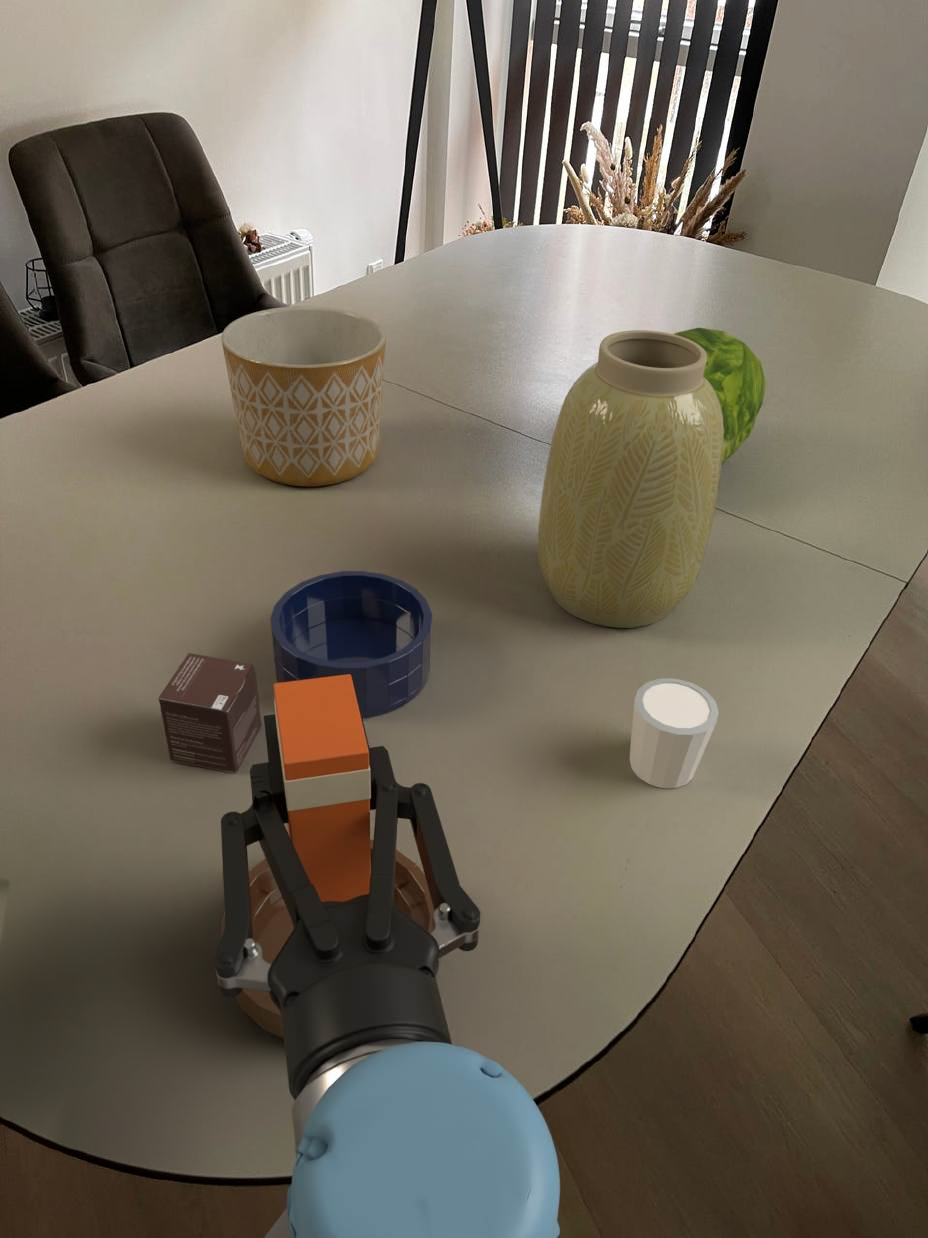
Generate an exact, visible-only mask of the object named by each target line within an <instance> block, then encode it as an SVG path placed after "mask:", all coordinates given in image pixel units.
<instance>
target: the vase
mask: <svg viewBox="0 0 928 1238" xmlns="http://www.w3.org/2000/svg"><path fill="white" fill-rule="evenodd" d="M674 334H675V333H669V332H663V331H658V330H657V331H656V330H647V329H639V330H638V329H634V330H624V331H622V330H621V331H618V332H614V333H611V334H609V335H607V336H605V337H604V338H603V339H601V341H600V344H599V347H598V359H597V362H595V363H594V364H592V365H591V366H589V367H588V368H587V369H586V370H585V371H583V372H582V373H581V374H580V375H579V376H578V378H577V379H576V380H575V382H574V383H573V385H572V386H571V387H570V388H569V390H568V392H567V393H566V395H565V397H564V400H563V402H562V405H561V407H560V411H559V414H558V417H557V421H556V424H555V427H554V430H553V434H552V435H553V436H552V439H551V443H550V447H549V450H548V451H549V452H548V456H547V462H546V467H545V473H544V478H543V485H542V490H541V491H542V492H541V499H540V506H539V516H538V528H537V560H538V565H539V568H540V571H541V574H542V575H541V576H542V577H543V580H544V582H545V584H546V586H547V588H548V590H549V592H550V594H551V596H552V598H553V599H554V601H555V602H556V603H557V604H558V606H560V607H561V608H562V609H563V610H565V611H566V612H567V613H569V614H571V615H572V616H574V617H576V618H578V619H580V620H583V621H585V622H587V623H591V624H594V625H598V626H603V627H607V628H616V629H619V628H620V629H629V628H630V629H631V628H632V629H633V628H639V627H644V626H649V625H652V624H654V623H656V622H659V621H661V620H662V619H664V618H665V617H667V616H668V615H669V614H670V613H672V612H673V610H674V609H675V608H676V607H677V606H678V605H680V603H681V602H682V601H684V600H685V598H686V597H687V596H688V594H689V593H690V592H691V590H692V588H693V587H694V585H695V584H696V582H697V579H698V577H699V574H700V570H701V567H702V565H703V561H704V557H705V555H706V554H705V553H706V550H707V547H708V543H709V539H710V535H711V532H712V531H711V530H712V526H713V522H714V517H715V512H716V511H715V510H716V507H717V506H716V505H717V500H718V495H719V488H720V481H721V474H722V466H723V465H722V457H723V437H724V429H723V414H722V409H721V406H720V402H719V400H718V397H717V395H716V393H715V390H714V389H713V387H712V385H711V384H710V383H709V381H708V380H707V379H706V378H705V377H704V376H703V374H704V370H705V366H706V362H707V354H706V352H705V350H704V349H703V348H702V347H701V346H700V345H698V344H697V343H695V342H693V341H691V340H689V339H686V338H684V337H681V336H677V335H674Z"/></svg>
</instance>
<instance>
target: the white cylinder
mask: <svg viewBox="0 0 928 1238" xmlns="http://www.w3.org/2000/svg"><path fill="white" fill-rule="evenodd" d="M719 713H720V711H719V707H718V704H717V702H716V700H715V699H714V698H713V697H712V696H711V694H710V693H709V692H708V691H707V690H705V689H704V688H702V687H700V686H698V685H697V684H695V683H693V682H690V681H687V680H683V679H679V678H665V677H664V678H663V677H662V678H658V679H654V680H649V681H647V682H645V683H644V684H642V685H641V686H640V688H638V689H637V691H636V695H635V697H634V701H633V712H632V725H631V736H630V747H629V750H630V751H629V763H630V768H631V770H632V771H633V772H634V774H635V775H636V776H637V778H638V779H640V780H642V781H643V782H645V783H646V784H647V785H650V786H654V787H657V788H660V789H678V788H681V787H684V786H686V785H687V784H688V783H689V782H691V780H692V779H694V776H695V774H696V772H697V769H698V767H699V765H700V763H701V760H702V757H703V755H704V752H705V751H706V748H707V745H708V744H709V741H710V738H711V736H712V734H713V732H714V729H715V726H716V724H717V721H718V719H719Z"/></svg>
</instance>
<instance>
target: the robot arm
mask: <svg viewBox="0 0 928 1238" xmlns="http://www.w3.org/2000/svg"><path fill="white" fill-rule="evenodd" d="M358 707H359V711H360V716H361V720H362V724H363V729H364V733H365V737H366V742H367V746H368V750H369V766H370V780H371V799H370V811H374V810H375V813H374V814H375V815H374V828H373V829H374V830H373V838H372V840H373V853H372V866H371V874H370V885H369V894H366V895H361V896H358V897H355V898H353V899H350V900H348V901H345V902H339V901H326V902H321V900H320V898H319V895H318V893H317V891H316V889H315V887H314V885H313V884H311V883H310V880H309V878H308V876H307V874H306V872H305V869H304V867H303V865H302V863H301V861H300V858H299V856H298V854H297V852H296V850H295V847H294V845H293V843H292V841H291V839H290V836H289V834H288V831H287V826H286V825H285V824H287V823H289V822H288V812H287V803H286V795H285V788H284V780H283V772H282V765H281V757H280V750H279V742H278V734H277V726H276V716H275V713H273V714H266V715H263V725H264V733H265V742H266V752H267V760H268V761H267V762H260V763H253V764H251V766H250V770H249V777H250V788H251V801H252V802H251V806H250V807H249V808H248V809H247V810H245V811H243V812H241V813H240V812H239V811H229V812H226V813H225V814H223V815H222V817H221V818H220V836H221V857H222V859H221V860H222V879H223V881H222V882H223V900H224V901H223V903H224V905H223V906H224V915H225V930H224V933H223V935H222V938H221V937H220V941H219V944H218V947H217V949H216V952H215V955H214V958H213V964H214V965H213V966H214V969H215V975H216V979H217V985H218V990H219V993H220V994H221V995H222V996H223V997H224V998H235V996H237V995H238V994H240V993H241V991H242V990H243V989H251V990H258V991H265V992H269V995H270V998H271V1000H272V1001H273V1003H274V1004H275V1005H276V1006H277V1007H278V1009H279V1010H280V1012H281V1015H282V1024H283V1034H284V1038H283V1041H284V1052H285V1062H286V1071H287V1081H288V1090H289V1093H290V1095H291V1097H292V1099H293V1100H294V1102H293V1105H292V1109H291V1118H292V1119H291V1120H292V1126H293V1127H292V1128H293V1137H294V1149H295V1157H296V1158H295V1159H296V1160H295V1163H294V1164H293V1167H292V1176H291V1184H290V1185H289V1187H288V1188H287V1194H286V1207H285V1209H284V1211H283V1212H282V1213H281V1215H280V1216H279V1217H278V1219H277V1220H276V1221H275V1223H274V1224H273V1225H272V1227H270V1229H269V1230H268V1232H267V1233H266V1235H264V1237H263V1238H558V1237H559V1236H560V1233H561V1229H560V1225H559V1222H558V1216H559V1207H560V1197H561V1195H560V1194H561V1178H560V1168H559V1160H558V1155H557V1152H556V1147H555V1145H554V1144H555V1143H554V1141H553V1138H552V1134H551V1131H550V1129H549V1127H548V1124H547V1122H546V1120H545V1118H544V1116H543V1114H542V1112H541V1110H540V1109H539V1107H538V1106H537V1104H536V1102H535V1101H534V1099H533V1098H532V1096H531V1095H530V1093H529V1092H528V1091H527V1090H526V1088H525V1087H523V1085H522V1083H520V1082H519V1081H518V1080H517V1079H516V1078H515V1077H514V1076H513V1075H512V1074H511V1073H510V1072H509V1071H507V1070H506V1069H505V1068H504V1067H503V1066H502V1065H500V1064H499V1063H498V1062H496V1061H494V1060H492V1059H490V1058H489V1057H486V1056H484V1055H483V1054H480V1053H479V1052H477V1051H474V1050H472V1049H469V1048H468V1047H467V1048H466V1047H463V1046H459V1045H455V1044H453V1043H452V1039H451V1034H450V1030H449V1025H448V1022H447V1018H446V1014H445V1009H444V1005H443V1001H442V996H441V994H440V990H439V986H438V981H437V974H438V971H439V967H440V959H441V958H443V957H444V956H446V955H447V954H450V953H451V952H453V951H454V950H457V949H459V950H460V951H462V952H471V951H474V950H475V949H476V948H477V946H478V943H479V937H480V936H479V934H480V925H481V917H482V916H481V915H482V914H481V911H480V909H479V907H478V906H477V904H476V903H475V902H474V901H473V899H472V898H471V897H470V896H469V895H468V893H467V892H466V890H465V889H464V888H463V887H462V886H461V884H460V880H459V877H458V874H457V871H456V867H455V863H454V861H453V857H452V854H451V851H450V847H449V845H448V841H447V838H446V835H445V831H444V828H443V825H442V821H441V818H440V814H439V812H438V808H437V806H436V802H435V798H434V796H433V792H432V789H431V787H430V786H429V785H428V784H427V783H424V782H417V783H414V784H413V785H412V786H410V787H408V786H403V785H401V784H400V783H398V782H397V780H396V777H395V774H394V770H393V766H392V762H391V759H390V754H389V751H388V750H387V748H386V747H385V746H384V745H379V746H378V745H377V746H373V747H370V745H369V740H368V737H367V736H368V735H367V732H366V727H365V724H364V718H362V714H361V710H360V706H359V703H358ZM399 819H401V820H402V819H403V820H409V822H410V825H411V830H412V833H413V834H412V835H413V837H414V840H415V844H416V848H417V852H418V856H419V859H420V863H421V866H422V870H423V874H424V875H425V877H426V881H427V885H428V888H429V892H430V896H431V899H432V903H433V907H434V910H435V911H434V913H433V924H432V928H433V931H432V932H431V933H429V932H428V931H426V930H425V929H424V928H423V927H421V926H420V925H419V924H417V923H416V922H415V921H414V920H412V919H411V918H410V917H409V916H407V915H406V914H405V913H403V912H402V911H401V910H400V909H398V908H397V907H396V906H395V905H393V902H394V882H395V862H396V850H397V842H398V841H397V839H398V823H399ZM257 842H258V843H259V845H260V848H261V850H262V853H263V855H264V857H265V859H266V860H267V862H268V865H269V867H270V869H271V872H272V874H273V876H274V879H275V881H276V884H277V886H278V888H279V891H280V893H281V895H282V898H283V900H284V903H285V905H286V907H287V910H288V912H289V915H290V917H291V919H292V922H293V926H294V929H293V931H292V932H291V934H290V936H289V937H288V939H287V940H286V942H285V943H284V945H283V947H282V948H281V950H280V951H279V953H278V954H277V956H276V958H275V959H274V961H273V962H272V963H268V962H267V961H265V959H264V955H263V949H262V946H261V945H260V944H259V943H258V942H255V940H254V939H253V927H252V912H251V898H250V884H249V871H250V869H249V858H248V857H249V856H248V846H250V845H253V844H255V843H257Z"/></svg>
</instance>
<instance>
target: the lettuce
mask: <svg viewBox="0 0 928 1238" xmlns="http://www.w3.org/2000/svg"><path fill="white" fill-rule="evenodd" d="M673 334H674V335H677V336H681V337H684V338H686V339H689V340H691V341H693V342H695V343H697V344H698V345H700V346H701V347H702V348H703V349H704V350H705V352H706V354H707V362H706V366H705V370H704V374H703V376H704V377H705V378H706V379H707V380H708V381H709V383H710V384H711V385H712V387H713V389H714V390H715V393H716V395H717V397H718V400H719V402H720V406H721V409H722V414H723V429H724V437H723V457H722V466H723V465H724V463H726V462H727V460H728V459H729V458H731V457H732V456H733V455H734V454H735V453H736V452H737V451H738V450H739V449H740V447H741V446H742V445H743V444H744V443H745V441H746V440H747V439H748V438H749V436H750V435H751V433H752V431H753V430H754V426H755V423H756V418H757V416H758V415H759V412H760V410H761V408H762V407H763V406H762V405H763V403H764V398H765V393H766V386H767V381H766V377H765V374H764V370H763V367H762V363H761V361H760V359H759V358H758V357H757V356H756V354H755V353H754V352H753V351H752V350H751V349H750V347H749V346H748V344H746V342H744V341H742V340H740V339H738V338H736V337H735V336H733V335H731V334H729V333H728V332H726V331H724V330H718V329H711V328H704V327H696V328H690V329H686V330H682V331H678V332H675V333H673Z"/></svg>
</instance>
